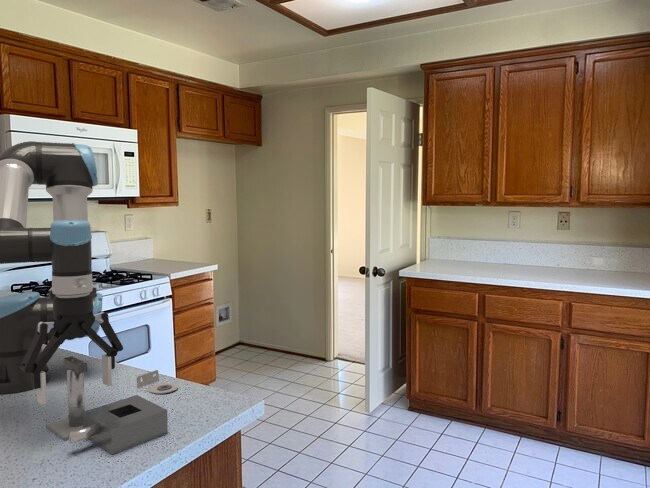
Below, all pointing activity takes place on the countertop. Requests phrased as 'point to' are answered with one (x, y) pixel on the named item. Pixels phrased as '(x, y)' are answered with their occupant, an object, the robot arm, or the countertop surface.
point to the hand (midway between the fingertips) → (76, 393)
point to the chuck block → (122, 424)
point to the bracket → (150, 379)
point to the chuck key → (75, 390)
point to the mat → (62, 428)
